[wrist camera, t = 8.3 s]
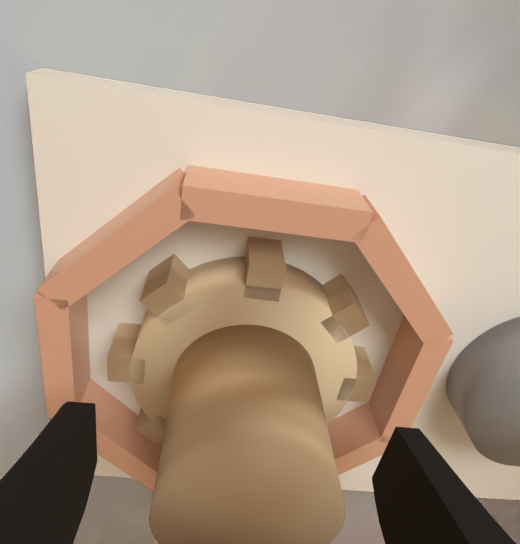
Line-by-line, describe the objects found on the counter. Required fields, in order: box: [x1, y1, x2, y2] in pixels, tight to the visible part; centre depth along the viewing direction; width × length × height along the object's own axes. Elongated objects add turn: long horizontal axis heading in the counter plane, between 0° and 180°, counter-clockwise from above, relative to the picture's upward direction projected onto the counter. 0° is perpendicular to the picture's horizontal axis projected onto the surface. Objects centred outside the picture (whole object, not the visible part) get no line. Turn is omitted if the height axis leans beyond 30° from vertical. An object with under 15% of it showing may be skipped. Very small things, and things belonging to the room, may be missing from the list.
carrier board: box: [26, 68, 520, 500], centre depth 14 cm, size 20×14×3 cm
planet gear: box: [107, 236, 377, 544], centre depth 11 cm, size 8×8×6 cm
